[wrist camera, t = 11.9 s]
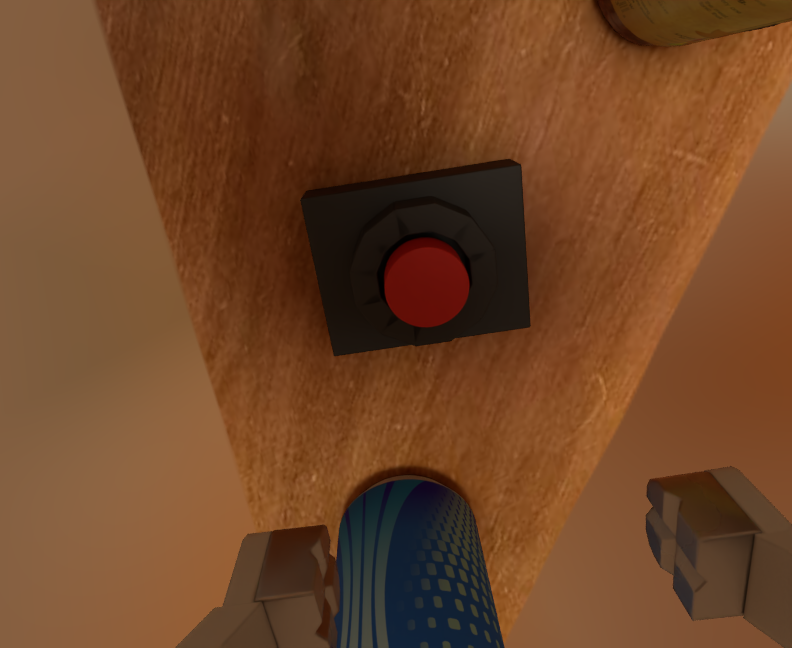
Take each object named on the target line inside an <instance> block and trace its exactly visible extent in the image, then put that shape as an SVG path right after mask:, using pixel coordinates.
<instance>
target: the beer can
mask: <svg viewBox="0 0 792 648" xmlns="http://www.w3.org/2000/svg"><path fill="white" fill-rule="evenodd" d="M336 564H337V568H338V574H339V583H340V607H339V612H338V613H337V615H336V616H335V617H334V621H335V625H336V629H337V633H338V635H337V647H336V648H504V644H503V639H502V635H501V631H500V626H499V622H498V617H497V613H496V609H495V604H494V600H493V595H492V591H491V587H490V582H489V578H488V573H487V569H486V565H485V560H484V556H483V551H482V547H481V543H480V538H479V534H478V529H477V525H476V521H475V517H474V515H473V512H472V510H471V509H470V507H469V505H468V504H467V503H466V501H465V500H464V499H463V498H462V497H461V496H460V495H458V494H457V493H456V492H455V491H453V490H451V489H450V488H448V487H446V486H444V485H442V484H441V483H439V482H437V481H435V480H432V479H430V478H426V477H422V476H416V475H402V476H395V477H391V478H387V479H385V480H382V481H380V482H378V483H376V484H374V485H373V486H371V487H370V488H369V489H367V490H366V491H365V492H363V493H362V494H360V495H359V496H358V497H357V498H356V499H355V500H354V501H353V502H352V503H351V504H350V505H349V507H348V508H347V510H346V511H345V513H344V515H343V517H342V520H341V523H340V528H339V538H338V549H337V560H336Z"/></svg>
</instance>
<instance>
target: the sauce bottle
mask: <svg viewBox="0 0 792 648" xmlns="http://www.w3.org/2000/svg"><path fill="white" fill-rule="evenodd" d="M598 4H599V7H600V8H601V10H602V13H603V15H604V17H605V18H606V19H607V21H608V22H609V23H610V25H611V27H612V28H614V31H616V32H618V33H619V34H620V35H621V36H623V37H624V38H625V39H626V40H629V41H631V42H633V43H636V44H638V45H659V46H667V47H671V46H682V45H689V44H692V43H697V42H701V41H704V40H709V39H714V38H719V37H723V36H728V35H732V34H736V33H740V32H745V31H751V30H757V29H762V28H765V27H770V26H775V25H777V24H780V23H784V22H788V21H792V0H598Z"/></svg>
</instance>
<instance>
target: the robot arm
mask: <svg viewBox="0 0 792 648" xmlns="http://www.w3.org/2000/svg"><path fill="white" fill-rule="evenodd" d="M647 498H648V499H649V501H650V502H651V504H652V506H653V507H652V508H651V509H650V511H649V512H648V513H647V514H646V532H647V537H648V541H649V545H650V547H651V550H652V552H653V555H654V557H655V558H656V560H657V562H658V564H659V565H660V567H661V568H662V569H664V570H666V571H667V572H669V573H670V574H672V575H674V577H673V589H674V591H675V592H676V594H677V595H678V597H679V599H680V601H681V602H682V604H683V606H684V607H685V609H686V610H687V612H688V614H689V616H690V617H691V619H692V620H693V621H694V620H704V619H714V618H724V617H732V616H743V615H744V617H743V618H744V619H746V620H747V621H748V622H749V623H751V624H752V625H754V626H755V627H757V628H758V629H759V630H760V631H762V632H763V633H765V634H766V635H768V636H769V637H770V638H771V639H773V640H774V641H776V642H777V643H778V644H780V645H781V646H782V647H784V648H792V524H791V523H790V522H789V521H788V520H787V519H786V518H785V517H784V516H783V515H782V514H781V513H780V512H779V511H778V510H777V509H776V508H775V506H773V505H772V504H771V502H769V500H768V499H767V498H766V497H765V496H764V495H763V494H762V493H761V492H760V491H759V490H758V489H757V488H756V487H755V486H754V485H753V484H752V483H751V482H750V481H749V480H748V479H747V478H746V477H745V476H744V475H743V474H742V473H741V472H740V470H738V469H737V468H734V467H732V466H730V467H725V468H718V469H711V470H705V471H704V472H695V473H688V474H681V475H674V476H667V477H661V478H654V479H650V480H649V482H648V485H647ZM330 541H331V540H330V537H329V533H328V530H327V527H326V526H325V525H317V526H308V527H300V528H291V529H282V530H274V531H270V532H261V533H252V534H247V536H246V537H245V538H244V539H243V541H242V544H241V547H240V551H239V554H238V558H237V561H236V564H235V567H234V570H233V574H232V577H231V580H230V583H229V587H228V590H227V593H226V597H225V600H224V603H223V606H222V607H217V608H214V609H213V610H212V611H211V612H210V613H209V614H208V615H207V616H206V617H205V618H204V619H203V620H202V621H201V622H200V623H199V624H198V625H197V626H196V627H195V628H194V629H193V630H192V631H191V632H190V633H189V634H188V635H187V636H186V637H185V638H184V639H183V641H181V643H179V644H178V645H177V647H176V648H336V647H337V635H338V633H337V629H336V625H335V621H334V617H335V616H336V615H337V613H338V612H339V607H340V583H339V574H338V568H337V564H336V560H335V558H334V557H333V556H332V555H331V554H329V551H330Z"/></svg>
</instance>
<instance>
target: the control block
mask: <svg viewBox="0 0 792 648" xmlns="http://www.w3.org/2000/svg"><path fill="white" fill-rule="evenodd" d="M300 201H301V205H302V210H303V214H304V219H305V224H306V228H307V233H308V238H309V242H310V247H311V252H312V256H313V261H314V265H315V270H316V275H317V279H318V284H319V289H320V293H321V298H322V302H323V307H324V312H325V316H326V321H327V326H328V330H329V335H330V340H331V344H332V349H333V353H334V356H339V355H346V354H353V353H359V352H366V351H373V350H380V349H386V348H393V347H400V346H407V345H415V346H421V345H428V344H435V343H441V342H448V341H452V340H453V339H455V338H460V337H467V336H474V335H481V334H487V333H494V332H501V331H508V330H514V329H521V328H528V327H530V309H529V291H528V274H527V257H526V239H525V222H524V205H523V187H522V170H521V164H519V163H517V162H515V161H513V160H511V159H506V160H500V161H493V162H487V163H481V164H474V165H468V166H462V167H455V168H449V169H443V170H436V171H430V172H423V173H417V174H411V175H404V176H398V177H392V178H385V179H379V180H373V181H366V182H360V183H354V184H347V185H341V186H335V187H328V188H322V189H316V190H309V191H306V192H305V194H304V195H303V197H302V198H301V200H300ZM420 237H430V238H436V239H439V240H441V241H444V242H445V243H447V244H449V245H450V246H451V247H452V248H453V249H454V250H455V251H456V252H457V254H458V255H459V257H460V259H461V261H462V263H463V265H464V267H465V269H466V271H467V274H468V277H469V294H468V298H467V300H466V303H465V305H464V306H463V308H462V309H461V311H460V312H459V313H458V314H457V315H456V316H455V317H454V318H452V319H451V320H449V321H448V322H446V323H444V324H441V325H438V326H434V327H418V326H414V325H410V324H408V323H406V322H404V321H402V320H401V319H400V318H398V317H397V316H396V315H395V314H394V313H393V311H392V310H391V309H390V307H389V305H388V303H387V300H386V296H385V288H384V271H385V267H386V264H387V261H388V259H389V257H390V256H391V254H392V253H393V252H394V251H395V249H397V248H398V247H399V246H400V245H402V244H403V243H405V242H407V241H409V240H412V239H415V238H420Z"/></svg>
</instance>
